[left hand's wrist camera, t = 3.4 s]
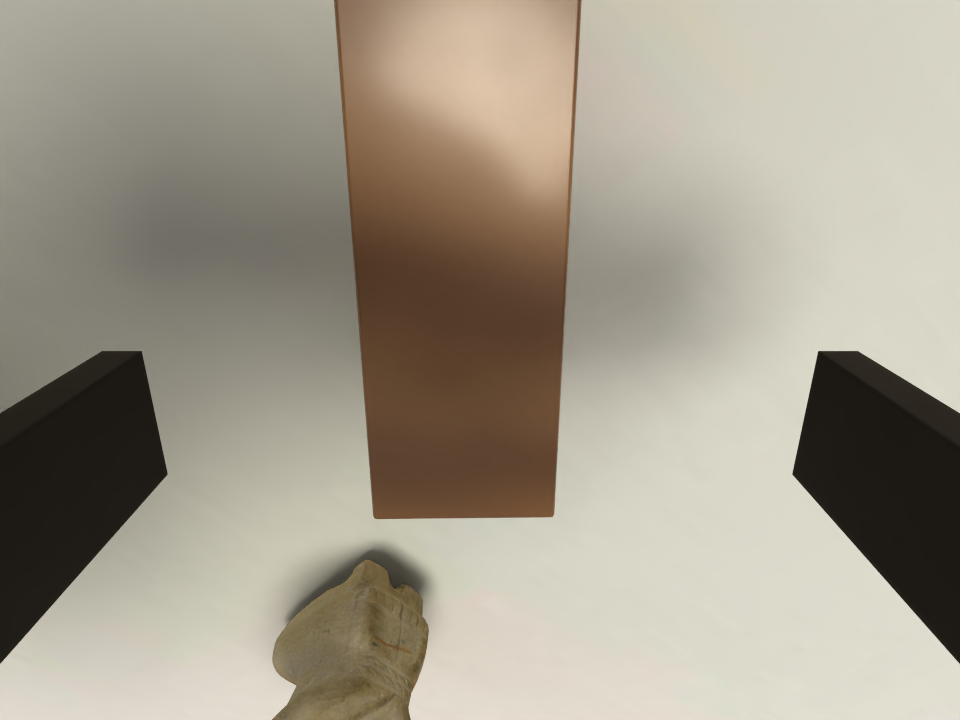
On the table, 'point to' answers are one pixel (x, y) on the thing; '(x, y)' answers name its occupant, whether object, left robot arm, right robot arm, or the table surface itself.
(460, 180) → the beam
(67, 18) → the table surface
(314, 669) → the sculpture
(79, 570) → the left robot arm
